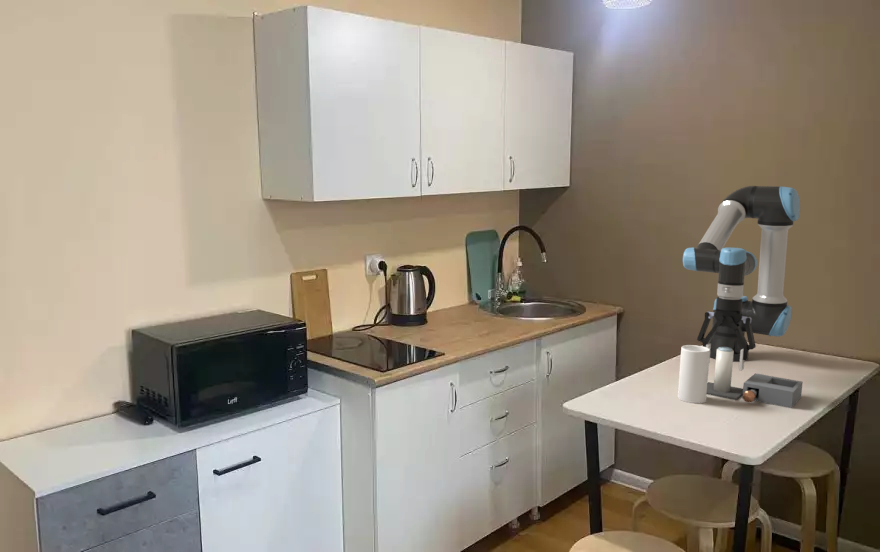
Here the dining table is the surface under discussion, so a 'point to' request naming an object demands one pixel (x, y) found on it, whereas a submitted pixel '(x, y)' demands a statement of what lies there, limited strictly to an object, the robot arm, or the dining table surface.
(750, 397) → the plunger
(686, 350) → the cup
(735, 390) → the mat
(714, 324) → the robot arm
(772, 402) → the frame
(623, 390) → the dining table surface
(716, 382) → the cylinder
